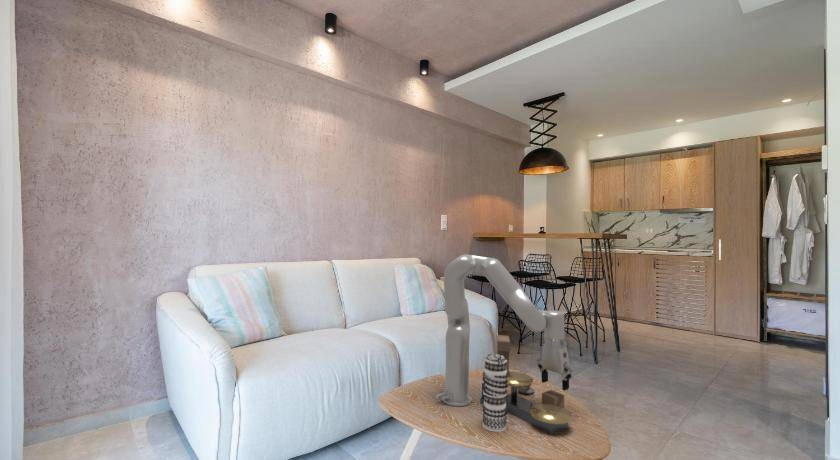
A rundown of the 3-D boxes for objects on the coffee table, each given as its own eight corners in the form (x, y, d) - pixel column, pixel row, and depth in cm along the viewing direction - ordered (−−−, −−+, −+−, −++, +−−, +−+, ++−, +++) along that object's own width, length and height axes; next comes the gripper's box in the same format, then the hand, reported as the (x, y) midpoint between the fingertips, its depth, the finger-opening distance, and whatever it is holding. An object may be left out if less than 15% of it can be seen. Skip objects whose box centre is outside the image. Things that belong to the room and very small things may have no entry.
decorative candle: (509, 423, 139) (511, 354, 140) (504, 434, 131) (506, 361, 131) (485, 417, 143) (486, 350, 143) (478, 428, 134) (480, 357, 135)
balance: (553, 440, 128) (554, 404, 128) (488, 405, 153) (489, 375, 154) (578, 429, 135) (579, 395, 136) (512, 398, 161) (513, 369, 161)
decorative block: (509, 385, 175) (510, 341, 175) (496, 384, 176) (497, 340, 177) (508, 376, 186) (509, 335, 186) (496, 375, 187) (497, 334, 187)
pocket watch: (532, 389, 171) (532, 366, 171) (536, 397, 163) (536, 373, 163) (513, 388, 172) (514, 365, 172) (516, 395, 164) (516, 372, 164)
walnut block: (554, 413, 147) (554, 398, 148) (541, 408, 152) (541, 392, 153) (564, 410, 151) (564, 395, 151) (551, 404, 156) (551, 389, 156)
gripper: (579, 345, 147) (580, 390, 147) (542, 336, 161) (543, 377, 161) (567, 348, 143) (568, 395, 142) (530, 339, 157) (531, 381, 157)
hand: (555, 385), depth 152 cm, fingers open, 9 cm apart
